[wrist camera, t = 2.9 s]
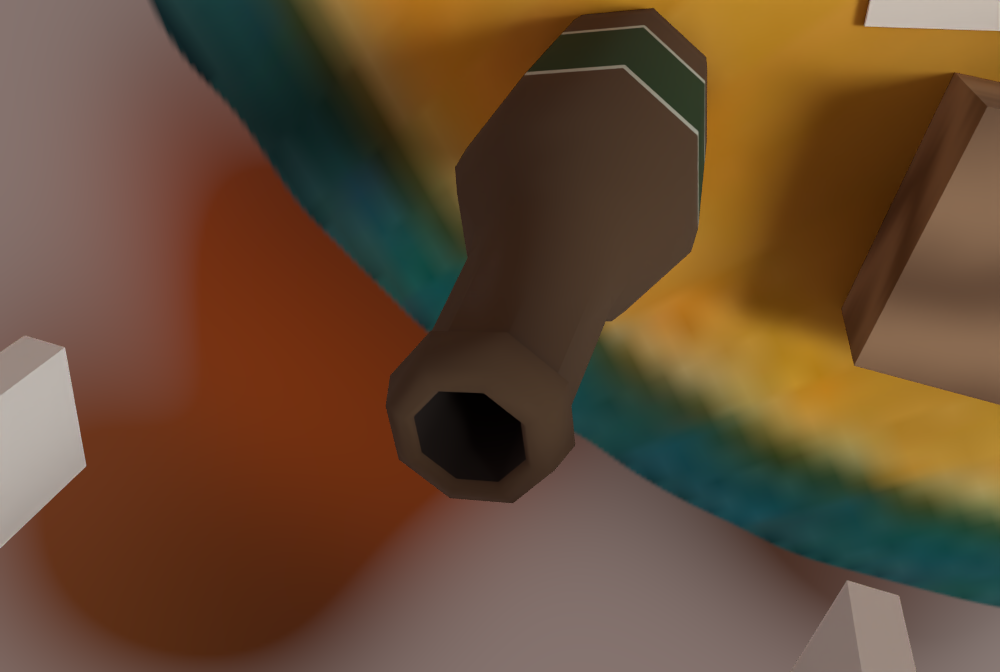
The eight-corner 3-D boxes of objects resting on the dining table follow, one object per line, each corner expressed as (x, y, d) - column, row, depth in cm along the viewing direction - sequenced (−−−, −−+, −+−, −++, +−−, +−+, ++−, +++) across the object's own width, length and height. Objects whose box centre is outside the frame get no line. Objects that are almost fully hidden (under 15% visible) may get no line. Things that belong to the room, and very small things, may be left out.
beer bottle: (670, -38, 31) (553, 172, 11) (743, 137, 34) (755, 553, 14) (503, 54, 34) (192, 339, 15) (583, 207, 37) (410, 618, 17)
